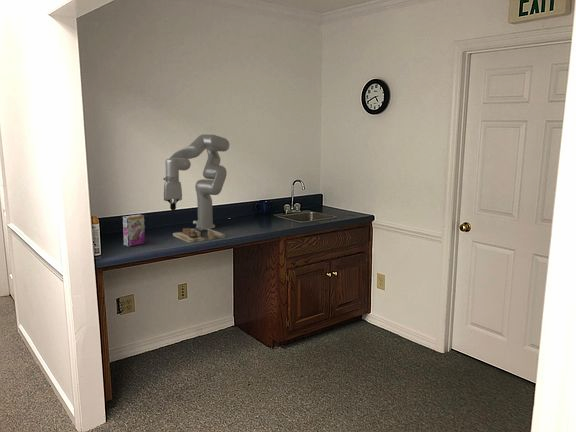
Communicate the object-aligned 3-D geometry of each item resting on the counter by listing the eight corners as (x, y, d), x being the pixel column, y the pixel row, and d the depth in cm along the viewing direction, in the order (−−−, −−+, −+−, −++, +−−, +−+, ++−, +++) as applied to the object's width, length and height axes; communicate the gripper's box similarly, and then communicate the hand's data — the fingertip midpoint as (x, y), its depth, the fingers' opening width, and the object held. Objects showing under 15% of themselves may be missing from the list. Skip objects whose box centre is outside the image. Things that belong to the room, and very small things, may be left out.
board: (189, 242, 282) (189, 240, 282) (172, 235, 300) (172, 233, 300) (226, 237, 297) (226, 234, 296) (208, 230, 314) (208, 228, 314)
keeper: (202, 238, 287) (202, 230, 286) (195, 235, 294) (195, 227, 293) (207, 237, 289) (207, 229, 289) (201, 234, 296) (200, 227, 295)
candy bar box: (128, 247, 272) (127, 217, 269) (123, 245, 275) (121, 216, 272) (146, 243, 280) (144, 215, 277) (140, 242, 283) (139, 214, 280)
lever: (198, 237, 288) (197, 229, 287) (190, 238, 286) (190, 230, 285) (189, 231, 303) (189, 223, 303) (182, 232, 301) (182, 224, 301)
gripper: (161, 180, 285) (162, 211, 288) (186, 179, 292) (187, 210, 295) (158, 179, 292) (159, 210, 295) (183, 178, 298) (183, 208, 301)
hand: (173, 210), depth 295 cm, fingers closed
